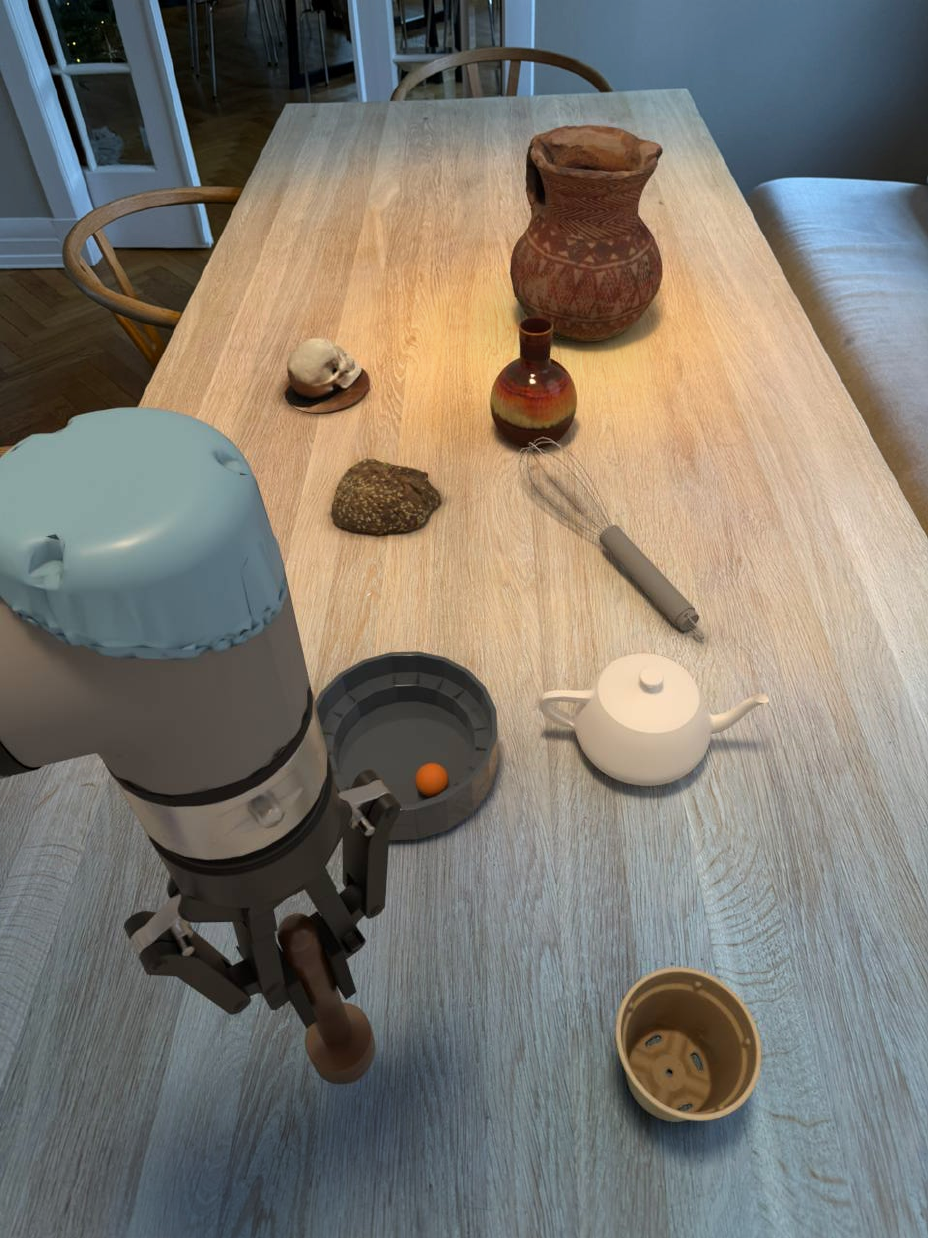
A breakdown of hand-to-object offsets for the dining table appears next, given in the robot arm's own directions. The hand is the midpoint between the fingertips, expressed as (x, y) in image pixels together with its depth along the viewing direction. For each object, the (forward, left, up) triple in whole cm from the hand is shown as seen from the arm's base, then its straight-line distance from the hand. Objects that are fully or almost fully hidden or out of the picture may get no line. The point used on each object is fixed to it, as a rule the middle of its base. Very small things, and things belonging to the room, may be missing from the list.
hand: (319, 991), depth 52 cm
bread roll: (+37, +52, -17) cm, 66 cm away
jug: (+84, +69, -17) cm, 110 cm away
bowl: (+18, +20, -17) cm, 32 cm away
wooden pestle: (0, 0, -11) cm, 11 cm away
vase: (+60, +52, -17) cm, 81 cm away
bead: (+18, +16, -15) cm, 28 cm away
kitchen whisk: (+53, +30, -17) cm, 63 cm away
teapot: (+37, +8, -17) cm, 42 cm away
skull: (+44, +78, -17) cm, 91 cm away
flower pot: (+18, -14, -17) cm, 29 cm away
